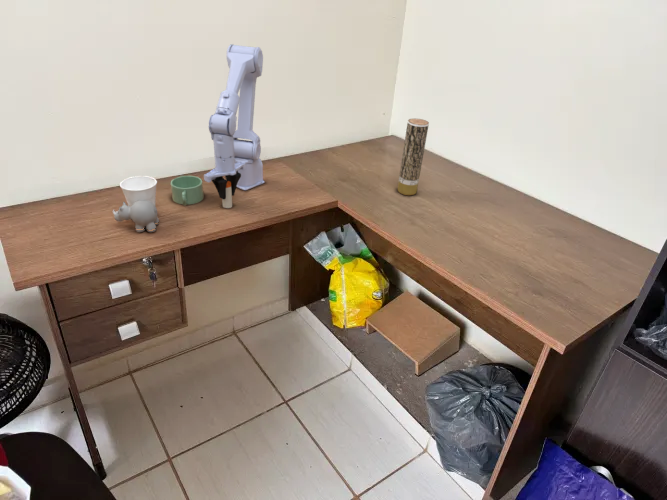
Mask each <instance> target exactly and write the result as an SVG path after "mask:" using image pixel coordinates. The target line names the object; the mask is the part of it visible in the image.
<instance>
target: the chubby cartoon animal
mask: <svg viewBox="0 0 667 500" xmlns="http://www.w3.org/2000/svg"><path fill="white" fill-rule="evenodd" d="M112 213H113V218H114V220H115V221H116V222H119V223H121V222H123V221H130V220H132V222H133V223H134V224H135V227H134V228H136V229H143V228H145V229H143V230H136V229H135V232H137V233H143V232H145V231H147V232H148V233H154V232H157V226H158V225H159V224H160V219H159V216H158V209H157V207H156V204H155V205H154V204H153V203H151V202H150V201H147V200H139V201H137V202H135V203H134V204H133V205H132V206H131V207H130V206H128V204H127V202H125V201H123V202H122V205H121V206H119V208H118V210H116V211H115V208H113V209H112ZM158 222H159V223H158ZM155 223H158V224H155ZM155 228H156V229H155ZM147 229H148V230H152V229H155V230H153V231H148V230H147Z"/></svg>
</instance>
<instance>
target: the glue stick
mask: <svg viewBox="0 0 667 500" xmlns="http://www.w3.org/2000/svg"><path fill="white" fill-rule="evenodd" d="M221 199H222V198H221ZM221 201H222V203H221V205H222V207H223V209H231V208H233V196H232V189H231V182H230V181H228V182H227V185H226V199H222V200H221Z"/></svg>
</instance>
